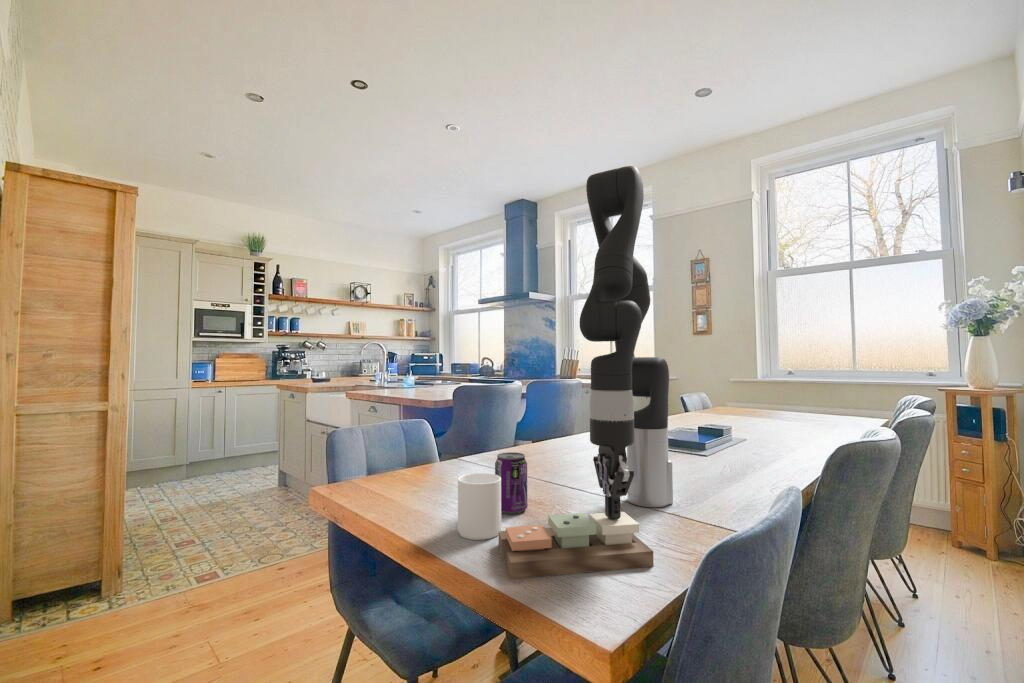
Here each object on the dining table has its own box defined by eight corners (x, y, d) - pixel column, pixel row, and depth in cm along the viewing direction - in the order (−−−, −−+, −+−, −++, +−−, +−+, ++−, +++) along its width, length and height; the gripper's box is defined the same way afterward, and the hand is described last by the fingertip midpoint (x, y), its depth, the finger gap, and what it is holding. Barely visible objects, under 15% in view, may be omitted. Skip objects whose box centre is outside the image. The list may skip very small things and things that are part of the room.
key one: (623, 533, 84) (623, 510, 84) (639, 547, 78) (639, 522, 78) (589, 536, 83) (589, 512, 83) (602, 550, 76) (602, 525, 77)
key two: (583, 535, 83) (583, 511, 83) (596, 549, 76) (596, 524, 76) (548, 537, 81) (548, 514, 82) (558, 552, 75) (558, 527, 75)
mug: (459, 519, 97) (459, 469, 97) (499, 518, 97) (499, 468, 98) (456, 541, 85) (456, 484, 85) (502, 540, 85) (502, 483, 86)
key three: (542, 547, 81) (542, 523, 81) (551, 563, 75) (551, 537, 75) (505, 550, 80) (505, 526, 80) (512, 567, 74) (512, 540, 74)
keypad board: (620, 536, 87) (620, 522, 87) (653, 566, 74) (653, 551, 74) (498, 545, 83) (498, 531, 83) (510, 578, 70) (510, 562, 71)
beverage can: (524, 516, 98) (524, 459, 99) (491, 514, 100) (491, 457, 100) (530, 506, 105) (529, 452, 106) (499, 504, 107) (499, 451, 107)
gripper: (649, 420, 75) (651, 530, 74) (617, 411, 88) (618, 504, 87) (604, 421, 74) (606, 533, 73) (578, 412, 87) (579, 507, 86)
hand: (612, 517), depth 80 cm, fingers closed
